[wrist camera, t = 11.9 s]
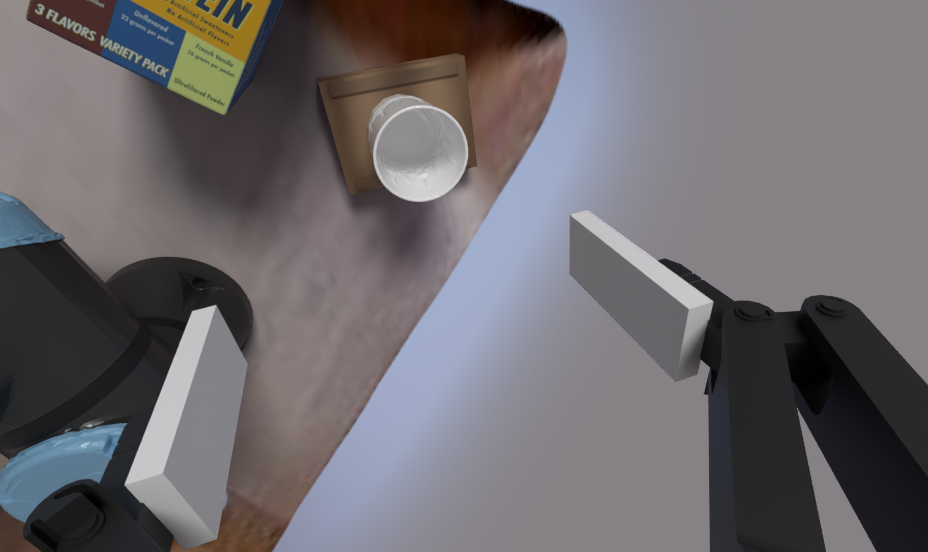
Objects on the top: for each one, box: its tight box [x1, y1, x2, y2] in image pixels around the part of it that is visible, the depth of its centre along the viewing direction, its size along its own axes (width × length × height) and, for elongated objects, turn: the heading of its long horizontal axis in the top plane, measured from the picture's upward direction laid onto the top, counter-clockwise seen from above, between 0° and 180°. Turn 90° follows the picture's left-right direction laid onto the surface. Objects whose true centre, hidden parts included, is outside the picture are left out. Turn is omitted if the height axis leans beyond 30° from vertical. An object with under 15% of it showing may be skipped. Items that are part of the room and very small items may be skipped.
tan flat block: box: [317, 53, 477, 195], centre depth 46 cm, size 14×11×3 cm
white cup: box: [367, 94, 468, 202], centre depth 41 cm, size 8×8×10 cm
